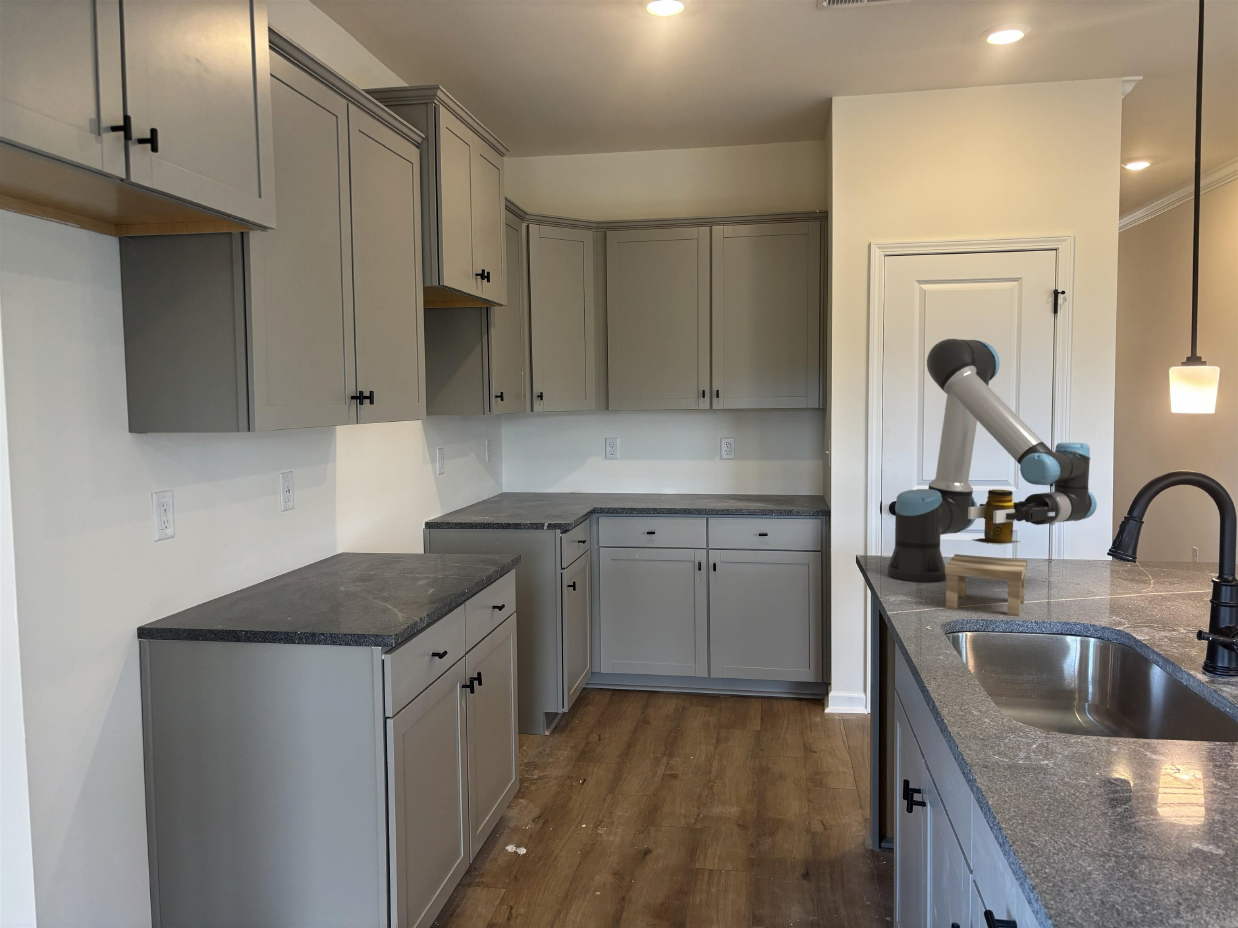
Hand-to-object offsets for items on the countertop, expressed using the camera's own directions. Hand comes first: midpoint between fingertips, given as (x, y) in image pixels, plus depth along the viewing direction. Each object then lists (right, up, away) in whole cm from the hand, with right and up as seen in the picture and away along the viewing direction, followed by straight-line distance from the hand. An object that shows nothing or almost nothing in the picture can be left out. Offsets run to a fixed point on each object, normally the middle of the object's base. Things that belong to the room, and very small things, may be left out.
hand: (982, 515), depth 190 cm
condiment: (+4, -7, +3) cm, 9 cm away
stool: (+3, -21, +5) cm, 22 cm away
